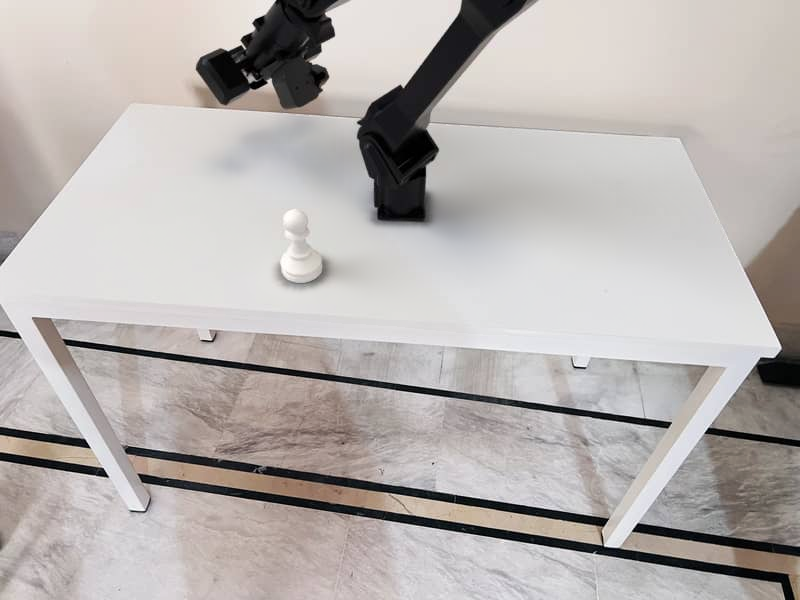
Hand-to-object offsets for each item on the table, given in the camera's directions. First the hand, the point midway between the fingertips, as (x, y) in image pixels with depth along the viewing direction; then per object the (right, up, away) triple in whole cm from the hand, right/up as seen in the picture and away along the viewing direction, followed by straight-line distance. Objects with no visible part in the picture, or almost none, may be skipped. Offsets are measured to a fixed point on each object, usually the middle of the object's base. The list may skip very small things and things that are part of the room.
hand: (240, 85), depth 90 cm
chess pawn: (+11, -28, -14) cm, 34 cm away
